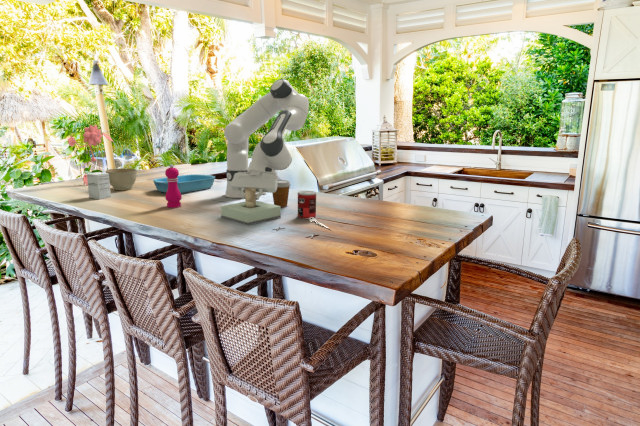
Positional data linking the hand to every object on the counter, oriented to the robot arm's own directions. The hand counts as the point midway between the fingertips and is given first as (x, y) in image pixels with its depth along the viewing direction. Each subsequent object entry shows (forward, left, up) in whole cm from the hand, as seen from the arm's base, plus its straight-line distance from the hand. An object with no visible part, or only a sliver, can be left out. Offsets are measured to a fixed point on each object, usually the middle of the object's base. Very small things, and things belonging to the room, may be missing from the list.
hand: (250, 198), depth 182 cm
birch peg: (0, 0, -6) cm, 6 cm away
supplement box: (+27, -86, -9) cm, 91 cm away
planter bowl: (+8, -102, -9) cm, 103 cm away
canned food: (-19, +16, -9) cm, 26 cm away
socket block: (-1, 0, -8) cm, 8 cm away
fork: (-12, +31, -9) cm, 34 cm away
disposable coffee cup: (-26, -8, -9) cm, 28 cm away
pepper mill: (+11, -42, -9) cm, 45 cm away
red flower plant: (+12, -126, -9) cm, 127 cm away
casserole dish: (-16, -78, -9) cm, 80 cm away
